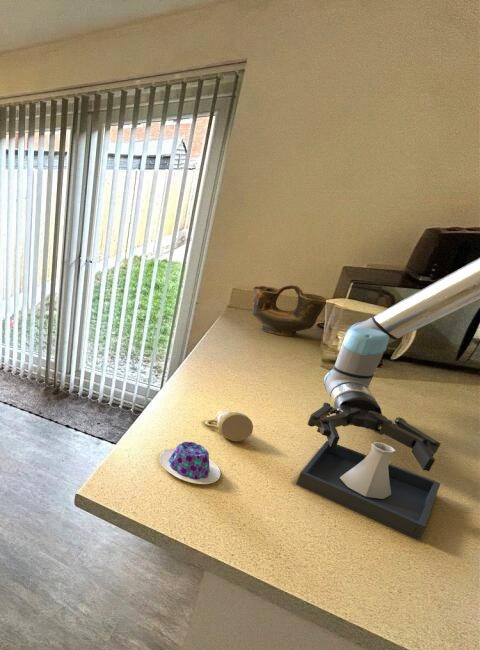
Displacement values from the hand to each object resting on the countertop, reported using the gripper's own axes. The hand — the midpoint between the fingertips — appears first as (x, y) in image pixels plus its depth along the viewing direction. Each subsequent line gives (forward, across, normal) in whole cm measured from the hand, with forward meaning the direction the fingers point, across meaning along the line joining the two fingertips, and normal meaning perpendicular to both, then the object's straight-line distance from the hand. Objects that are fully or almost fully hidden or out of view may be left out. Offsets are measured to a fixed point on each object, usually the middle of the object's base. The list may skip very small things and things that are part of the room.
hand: (380, 453), depth 77 cm
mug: (-9, +24, -9) cm, 27 cm away
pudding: (+11, +31, -9) cm, 34 cm away
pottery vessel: (-101, +8, -9) cm, 102 cm away
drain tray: (+1, 0, -9) cm, 9 cm away
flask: (+1, 0, -8) cm, 8 cm away
